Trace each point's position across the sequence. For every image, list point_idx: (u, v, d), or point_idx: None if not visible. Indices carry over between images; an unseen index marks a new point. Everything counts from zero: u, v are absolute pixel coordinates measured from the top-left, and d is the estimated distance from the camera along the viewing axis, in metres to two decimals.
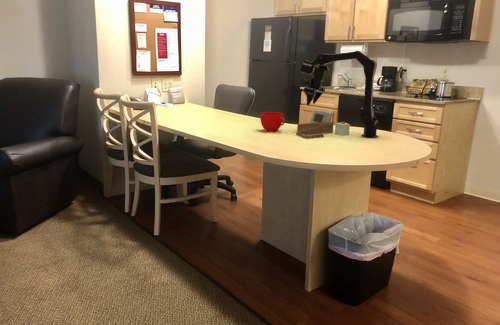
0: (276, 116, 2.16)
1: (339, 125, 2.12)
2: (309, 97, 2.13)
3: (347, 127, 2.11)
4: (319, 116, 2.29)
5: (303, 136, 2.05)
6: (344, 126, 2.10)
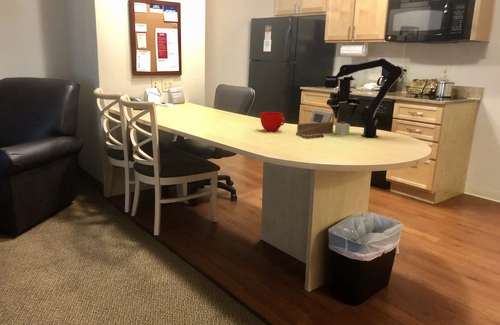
0: (276, 116, 2.16)
1: (339, 125, 2.12)
2: (334, 110, 2.09)
3: (347, 127, 2.11)
4: (319, 116, 2.29)
5: (303, 136, 2.05)
6: (344, 126, 2.10)
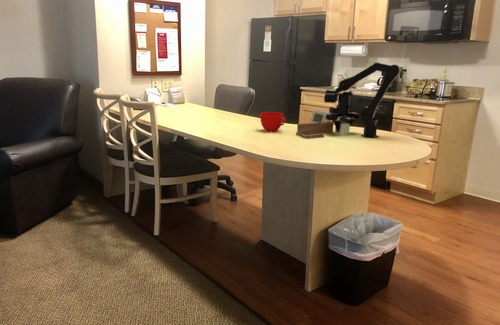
0: (276, 116, 2.16)
1: None
2: (336, 124, 2.12)
3: (347, 127, 2.11)
4: (319, 116, 2.29)
5: (303, 136, 2.05)
6: (344, 126, 2.10)
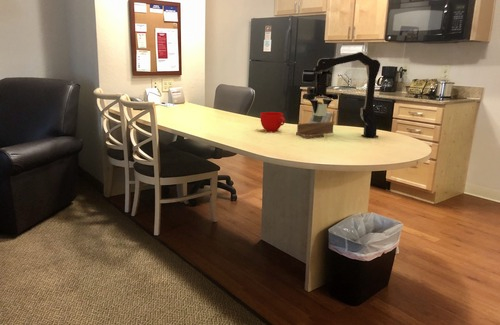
0: (276, 116, 2.16)
1: None
2: (313, 104, 2.05)
3: (324, 107, 2.05)
4: (318, 116, 2.29)
5: (303, 136, 2.05)
6: (321, 106, 2.04)
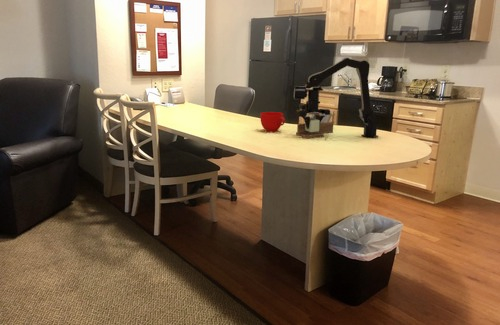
0: (276, 116, 2.16)
1: None
2: (306, 120, 2.06)
3: (317, 123, 2.06)
4: None
5: (303, 136, 2.05)
6: (314, 122, 2.05)
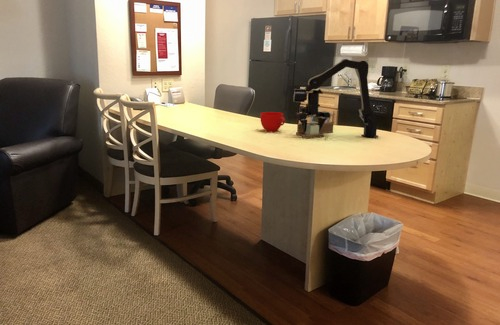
0: (276, 116, 2.16)
1: (308, 127, 2.07)
2: (303, 123, 2.06)
3: (316, 129, 2.07)
4: None
5: (303, 136, 2.05)
6: (313, 128, 2.06)
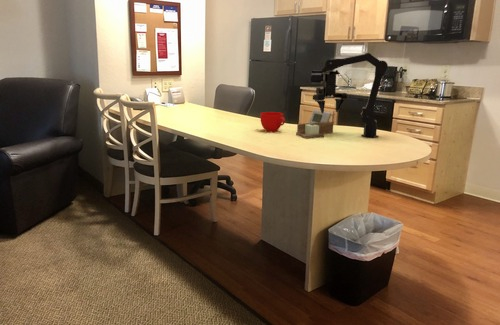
0: (276, 116, 2.16)
1: (308, 127, 2.07)
2: (321, 104, 2.08)
3: (316, 129, 2.07)
4: (318, 116, 2.29)
5: (303, 136, 2.05)
6: (313, 128, 2.06)
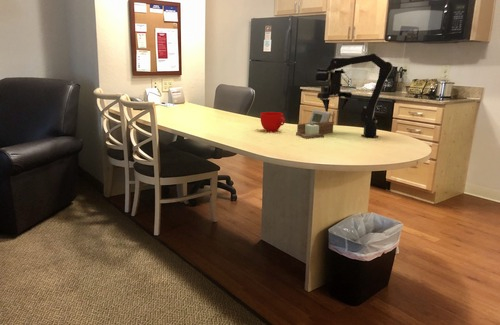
0: (276, 116, 2.16)
1: (308, 127, 2.07)
2: (325, 103, 2.09)
3: (316, 129, 2.07)
4: (318, 116, 2.29)
5: (303, 136, 2.05)
6: (313, 128, 2.06)
